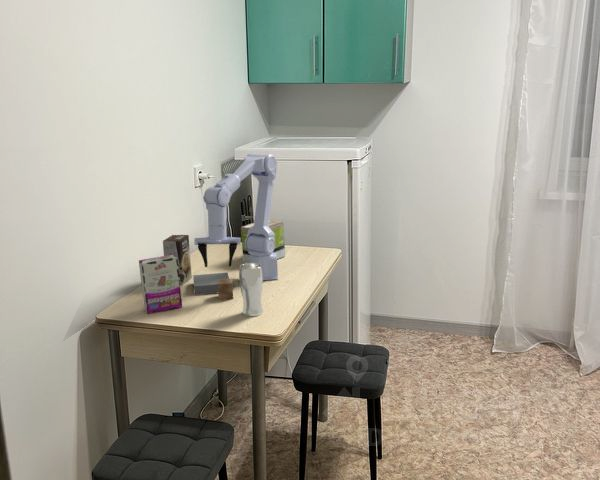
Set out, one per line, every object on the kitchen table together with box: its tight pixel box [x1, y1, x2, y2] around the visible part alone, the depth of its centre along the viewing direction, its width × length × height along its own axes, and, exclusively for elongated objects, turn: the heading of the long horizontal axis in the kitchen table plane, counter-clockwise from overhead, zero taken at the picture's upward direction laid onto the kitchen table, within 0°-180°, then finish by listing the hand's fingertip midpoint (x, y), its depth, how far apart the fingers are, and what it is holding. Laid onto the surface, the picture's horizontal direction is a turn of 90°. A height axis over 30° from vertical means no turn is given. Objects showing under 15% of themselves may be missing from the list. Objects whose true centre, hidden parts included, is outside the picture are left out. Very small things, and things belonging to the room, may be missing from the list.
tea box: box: [240, 219, 286, 264], centre depth 231 cm, size 15×10×15 cm, turn 144°
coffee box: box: [162, 234, 193, 286], centre depth 208 cm, size 9×6×16 cm
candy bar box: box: [138, 255, 183, 315], centre depth 182 cm, size 11×5×16 cm, turn 117°
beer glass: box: [238, 263, 264, 318], centre depth 177 cm, size 7×7×15 cm
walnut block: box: [217, 278, 234, 301], centre depth 192 cm, size 4×4×6 cm
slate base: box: [192, 272, 230, 296], centre depth 202 cm, size 12×12×3 cm
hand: (218, 266), depth 190 cm, fingers open, 7 cm apart
